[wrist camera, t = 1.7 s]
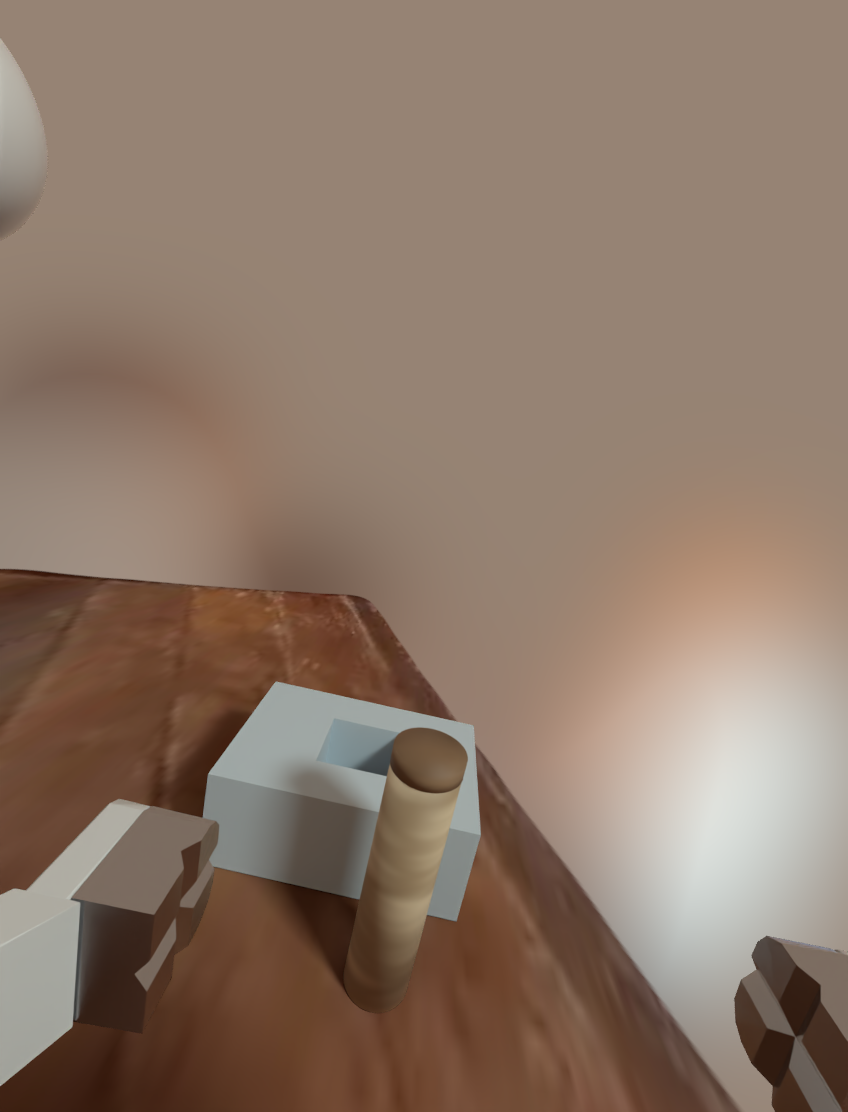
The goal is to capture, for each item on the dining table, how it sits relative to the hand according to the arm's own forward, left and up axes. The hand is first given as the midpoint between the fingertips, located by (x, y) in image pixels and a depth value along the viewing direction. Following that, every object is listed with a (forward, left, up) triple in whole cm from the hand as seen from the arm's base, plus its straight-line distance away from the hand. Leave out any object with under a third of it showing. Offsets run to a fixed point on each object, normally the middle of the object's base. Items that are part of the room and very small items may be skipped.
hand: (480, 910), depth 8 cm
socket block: (-10, +18, -18) cm, 27 cm away
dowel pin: (-4, +11, -18) cm, 21 cm away
